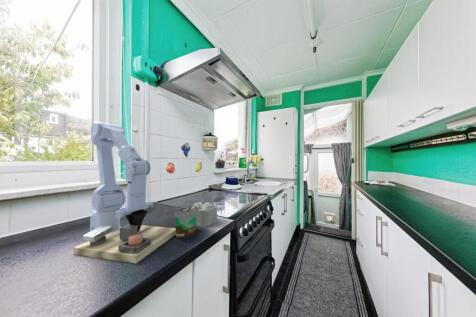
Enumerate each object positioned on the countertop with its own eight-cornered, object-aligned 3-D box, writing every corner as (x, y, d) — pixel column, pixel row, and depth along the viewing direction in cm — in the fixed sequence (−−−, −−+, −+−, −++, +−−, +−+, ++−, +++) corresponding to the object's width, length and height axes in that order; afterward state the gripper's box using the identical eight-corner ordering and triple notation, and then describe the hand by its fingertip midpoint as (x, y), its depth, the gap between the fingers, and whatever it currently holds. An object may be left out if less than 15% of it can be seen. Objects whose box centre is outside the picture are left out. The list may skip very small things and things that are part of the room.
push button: (125, 248, 49) (125, 238, 49) (135, 243, 52) (135, 233, 52) (135, 250, 48) (136, 239, 48) (145, 244, 52) (145, 234, 52)
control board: (73, 254, 50) (73, 242, 50) (129, 228, 69) (129, 220, 69) (135, 263, 45) (136, 250, 45) (176, 233, 65) (177, 224, 65)
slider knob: (119, 239, 55) (119, 227, 55) (127, 235, 58) (127, 224, 58) (129, 240, 54) (130, 228, 54) (137, 236, 57) (137, 225, 57)
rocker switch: (83, 240, 51) (82, 235, 50) (102, 229, 56) (102, 225, 56) (94, 242, 50) (93, 237, 50) (112, 230, 56) (112, 226, 55)
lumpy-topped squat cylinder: (205, 228, 71) (205, 207, 71) (183, 222, 77) (184, 204, 78) (219, 220, 80) (219, 202, 80) (199, 216, 86) (199, 199, 87)
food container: (189, 241, 58) (189, 213, 59) (173, 240, 59) (174, 212, 60) (203, 228, 70) (203, 204, 71) (190, 227, 72) (190, 204, 72)
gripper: (129, 198, 51) (127, 242, 51) (160, 190, 66) (159, 225, 65) (110, 197, 53) (109, 240, 52) (144, 190, 67) (143, 224, 67)
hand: (135, 232), depth 59 cm, fingers closed
